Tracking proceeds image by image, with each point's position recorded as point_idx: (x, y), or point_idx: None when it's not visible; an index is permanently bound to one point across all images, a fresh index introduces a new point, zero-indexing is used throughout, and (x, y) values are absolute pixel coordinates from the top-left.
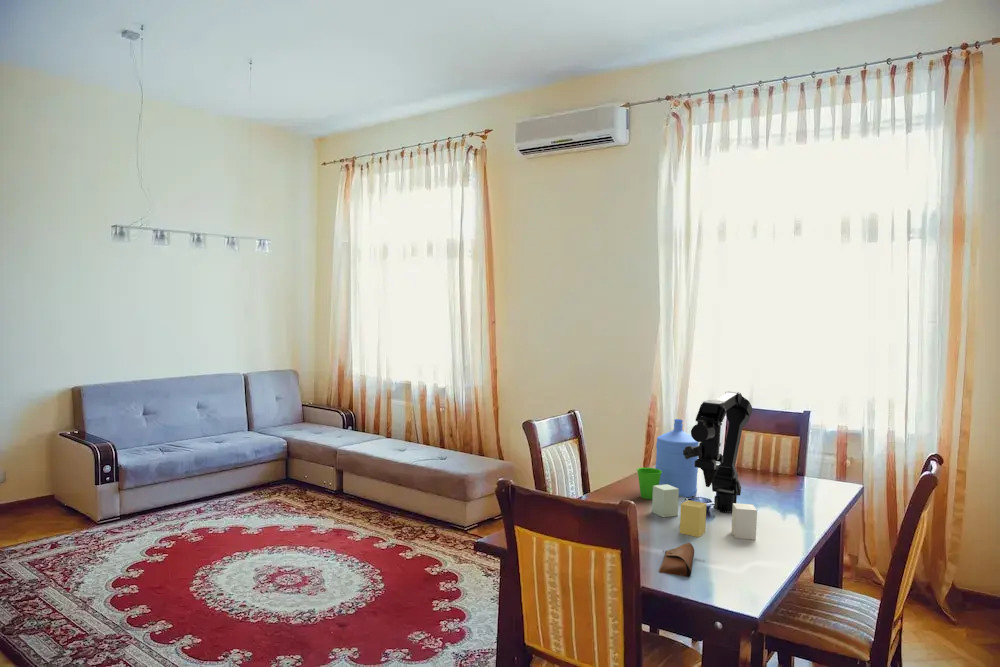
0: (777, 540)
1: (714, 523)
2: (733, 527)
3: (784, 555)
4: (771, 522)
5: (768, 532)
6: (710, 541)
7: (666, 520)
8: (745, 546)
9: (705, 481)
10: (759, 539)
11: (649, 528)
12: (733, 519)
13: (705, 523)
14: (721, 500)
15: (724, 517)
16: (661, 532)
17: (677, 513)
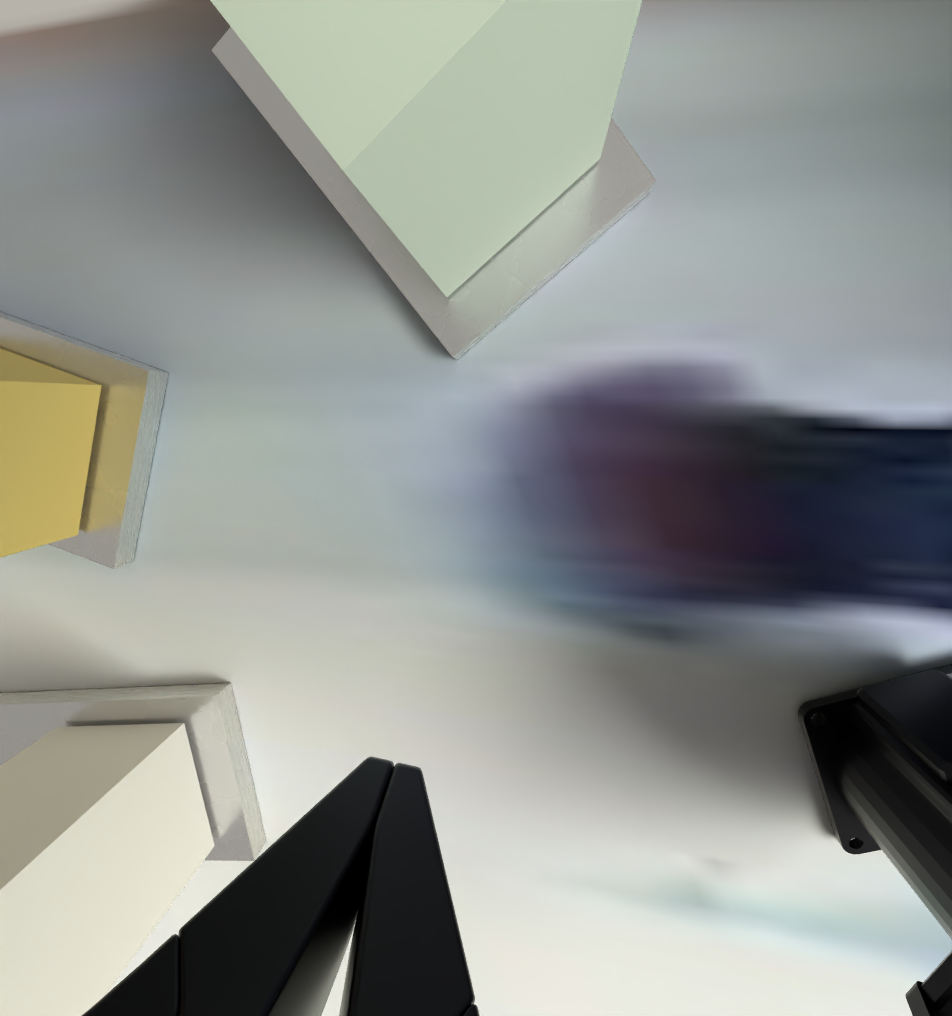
0: None
1: (449, 620)
2: (74, 762)
3: None
4: (631, 1010)
5: None
6: (14, 557)
7: None
8: None
9: (294, 834)
10: (210, 860)
11: (68, 49)
12: (28, 810)
13: (4, 555)
14: (918, 787)
15: (655, 715)
16: (19, 177)
17: (440, 289)
